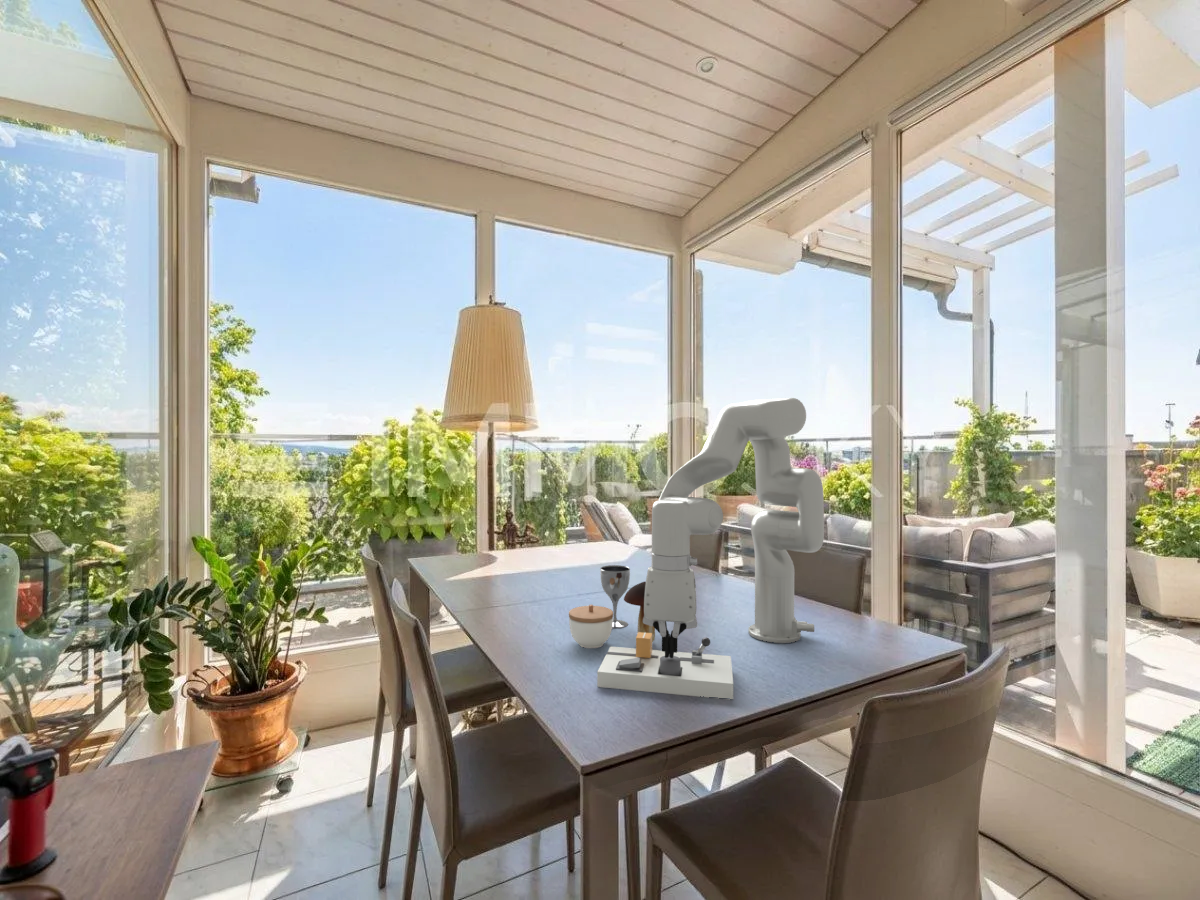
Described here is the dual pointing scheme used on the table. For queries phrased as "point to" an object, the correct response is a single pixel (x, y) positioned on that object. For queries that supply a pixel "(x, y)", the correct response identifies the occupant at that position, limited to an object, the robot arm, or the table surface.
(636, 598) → the decorative mushroom
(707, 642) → the lever
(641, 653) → the slider
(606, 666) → the panel
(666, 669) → the button
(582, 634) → the lidded jar
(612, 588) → the wine glass
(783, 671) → the table surface
